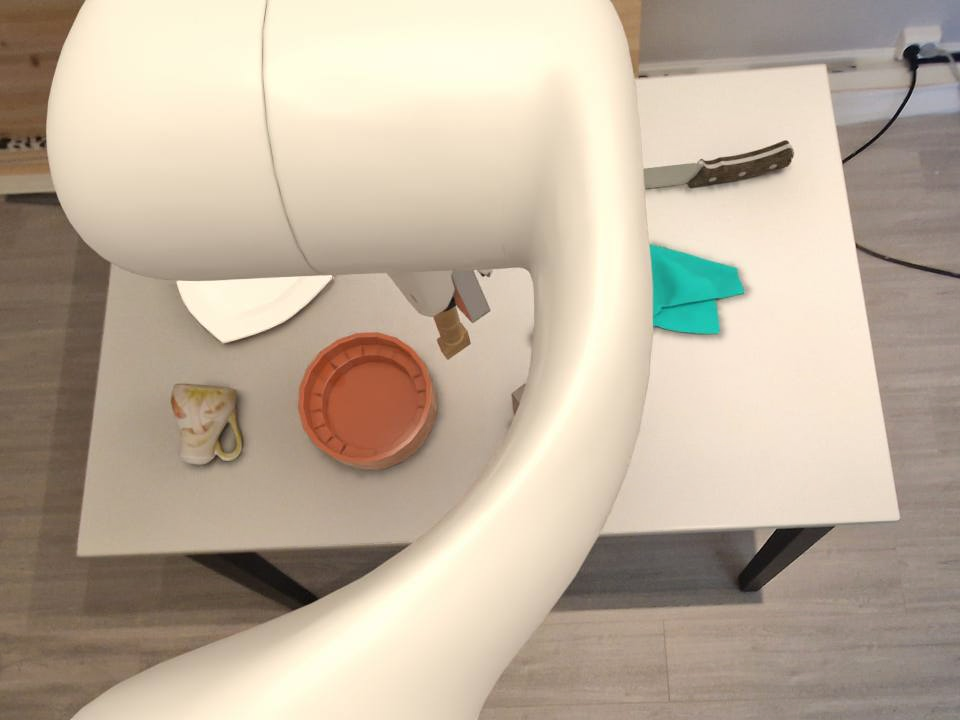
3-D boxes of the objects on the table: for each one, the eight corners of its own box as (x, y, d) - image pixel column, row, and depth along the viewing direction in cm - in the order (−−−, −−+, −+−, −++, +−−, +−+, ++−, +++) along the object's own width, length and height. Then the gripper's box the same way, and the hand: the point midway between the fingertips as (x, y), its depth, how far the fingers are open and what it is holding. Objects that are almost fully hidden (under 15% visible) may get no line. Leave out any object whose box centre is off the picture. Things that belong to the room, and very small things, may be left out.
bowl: (462, 418, 84) (457, 407, 79) (357, 496, 82) (345, 490, 77) (390, 324, 88) (381, 307, 83) (289, 396, 86) (273, 384, 81)
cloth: (731, 232, 89) (736, 223, 87) (753, 334, 84) (759, 327, 82) (525, 254, 90) (524, 246, 88) (536, 356, 86) (536, 350, 83)
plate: (160, 252, 94) (152, 245, 92) (286, 179, 96) (281, 171, 94) (222, 366, 88) (215, 362, 86) (355, 286, 90) (351, 280, 88)
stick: (474, 347, 58) (449, 248, 41) (450, 364, 58) (416, 270, 41) (461, 331, 59) (432, 226, 42) (438, 347, 59) (399, 248, 42)
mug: (174, 472, 85) (131, 415, 78) (219, 412, 91) (183, 356, 84) (224, 481, 82) (184, 423, 75) (267, 419, 88) (234, 361, 82)
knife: (798, 135, 87) (559, 161, 85) (804, 152, 86) (563, 179, 85) (778, 163, 93) (553, 188, 91) (783, 179, 92) (557, 205, 90)
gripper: (209, 33, 31) (326, 233, 48) (408, 297, 26) (458, 413, 44) (352, -53, 32) (416, 174, 49) (568, 188, 27) (554, 344, 45)
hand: (435, 285), depth 46 cm, fingers closed on stick, 1 cm apart
